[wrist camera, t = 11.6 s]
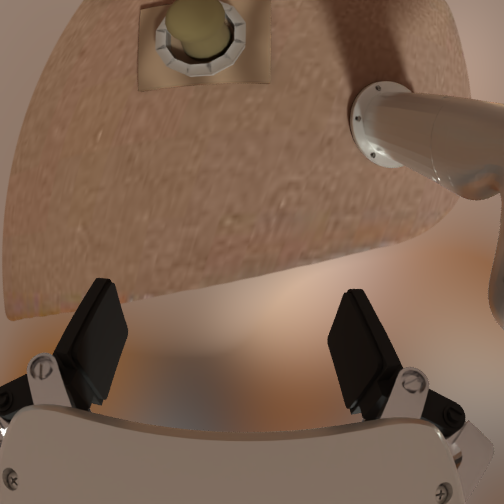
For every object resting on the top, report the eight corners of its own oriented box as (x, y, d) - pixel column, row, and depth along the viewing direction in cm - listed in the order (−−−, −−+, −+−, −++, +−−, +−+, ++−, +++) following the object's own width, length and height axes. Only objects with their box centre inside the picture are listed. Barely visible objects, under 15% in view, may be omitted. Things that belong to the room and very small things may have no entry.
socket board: (269, 3, 22) (273, -8, 19) (268, 83, 29) (272, 81, 25) (144, 12, 22) (133, 4, 18) (142, 91, 28) (130, 90, 24)
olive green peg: (177, 60, 25) (149, 42, 16) (186, 18, 22) (164, -15, 13) (227, 64, 26) (221, 44, 16) (236, 21, 23) (235, -14, 13)
